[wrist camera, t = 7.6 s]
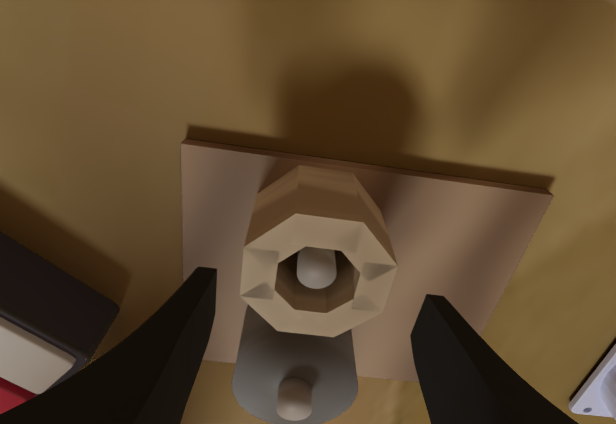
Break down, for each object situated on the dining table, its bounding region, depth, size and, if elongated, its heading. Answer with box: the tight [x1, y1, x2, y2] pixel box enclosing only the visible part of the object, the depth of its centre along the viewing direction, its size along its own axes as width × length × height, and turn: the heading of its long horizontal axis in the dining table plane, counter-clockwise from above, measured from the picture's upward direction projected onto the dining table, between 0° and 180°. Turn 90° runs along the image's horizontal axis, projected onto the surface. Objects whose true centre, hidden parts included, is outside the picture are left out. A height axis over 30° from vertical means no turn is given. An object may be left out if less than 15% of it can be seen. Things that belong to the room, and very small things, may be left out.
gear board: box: [181, 139, 554, 424], centre depth 18 cm, size 16×13×6 cm
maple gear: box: [240, 165, 398, 337], centre depth 16 cm, size 6×6×4 cm
